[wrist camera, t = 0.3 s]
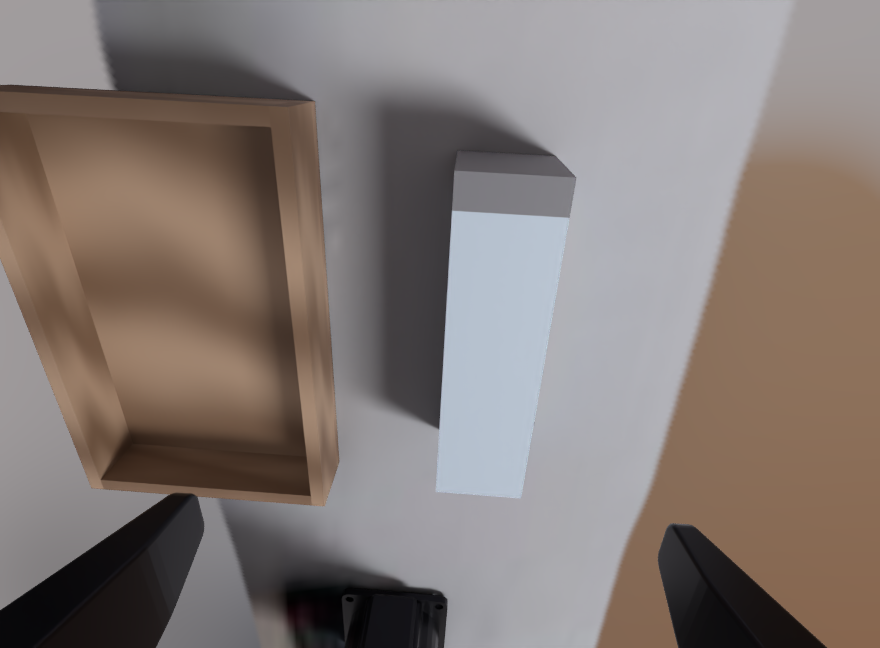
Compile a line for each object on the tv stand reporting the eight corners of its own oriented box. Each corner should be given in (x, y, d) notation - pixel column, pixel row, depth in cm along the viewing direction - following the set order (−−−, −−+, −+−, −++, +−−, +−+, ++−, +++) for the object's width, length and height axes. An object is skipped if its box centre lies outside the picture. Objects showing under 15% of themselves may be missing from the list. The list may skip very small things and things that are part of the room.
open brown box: (339, 462, 25) (324, 506, 23) (129, 446, 26) (91, 488, 23) (314, 101, 17) (287, 107, 15) (10, 84, 18) (-68, 87, 15)
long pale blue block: (513, 434, 24) (520, 498, 21) (440, 429, 24) (435, 491, 21) (555, 155, 18) (576, 177, 14) (457, 150, 18) (454, 170, 14)
